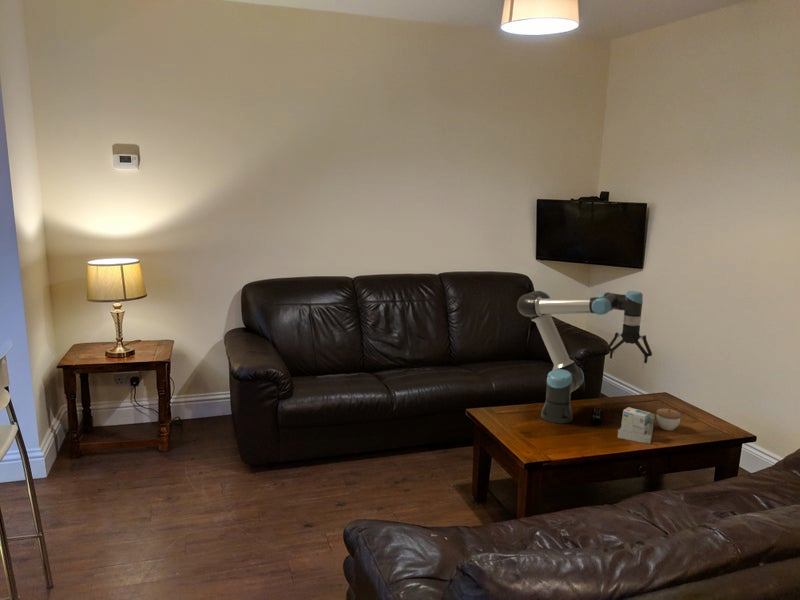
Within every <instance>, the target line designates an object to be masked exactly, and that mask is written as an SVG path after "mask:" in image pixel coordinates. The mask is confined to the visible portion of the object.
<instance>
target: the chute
mask: <svg viewBox="0 0 800 600" xmlns="http://www.w3.org/2000/svg"><path fill="white" fill-rule="evenodd" d="M620 424H621V425H620V428H618V429H617V438H618V439H622V440H627V441H633V442H639V443H644V444H648V445H649V444H651V443H652V442H651V441H652V436H653V431H654V427H653V424H650V425H649V434H648V435H647V434H642V433H637V432H631V431H626V430H621V429H622V421H621V423H620Z"/></svg>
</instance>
